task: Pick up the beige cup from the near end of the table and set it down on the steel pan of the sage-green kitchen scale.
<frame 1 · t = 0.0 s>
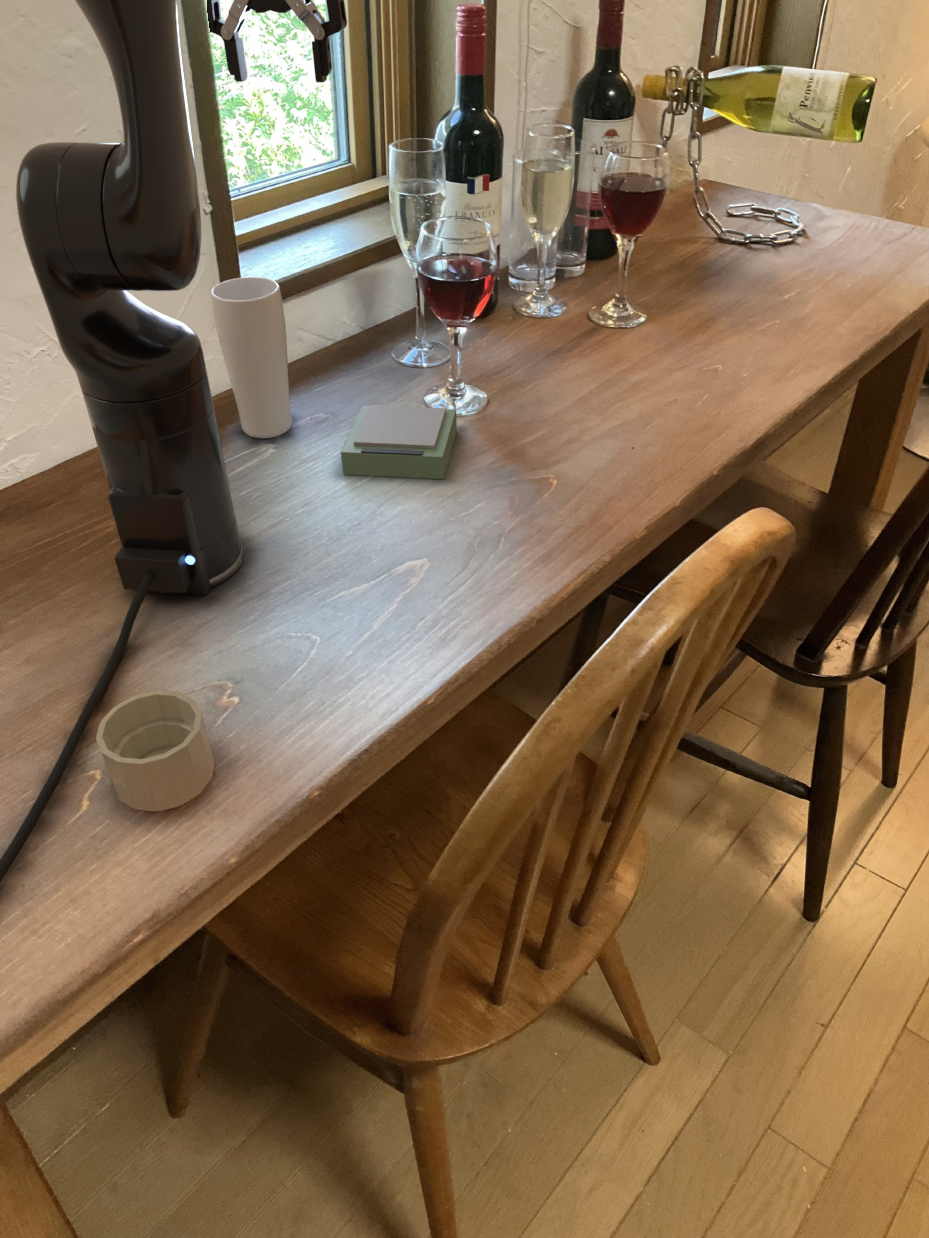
hand: (281, 81, 99), 29 cm above the table, tool pointing down, fingers open, 8 cm apart
drinking glass: (267, 430, 102), on the table
beige cup: (166, 778, 64), on the table
scale: (401, 452, 98), on the table
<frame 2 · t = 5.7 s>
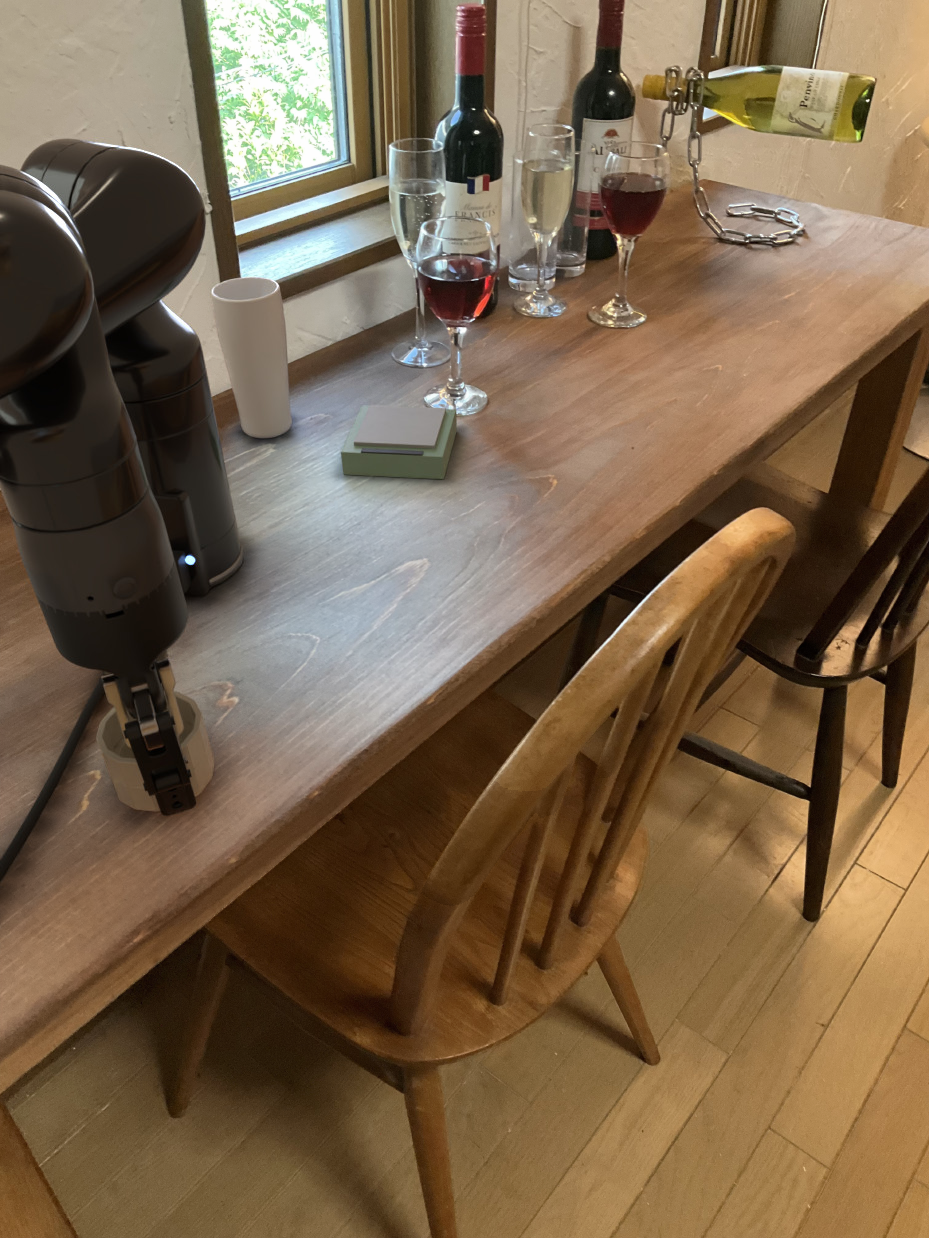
hand: (169, 769, 63), 1 cm above the table, tool pointing down, fingers closed on beige cup, 6 cm apart
beige cup: (166, 778, 64), on the table, touching gripper
everything else where it was.
when the fingers open (4 cm above the table, at t = 14.7 s): beige cup stays where it is, resting on scale.
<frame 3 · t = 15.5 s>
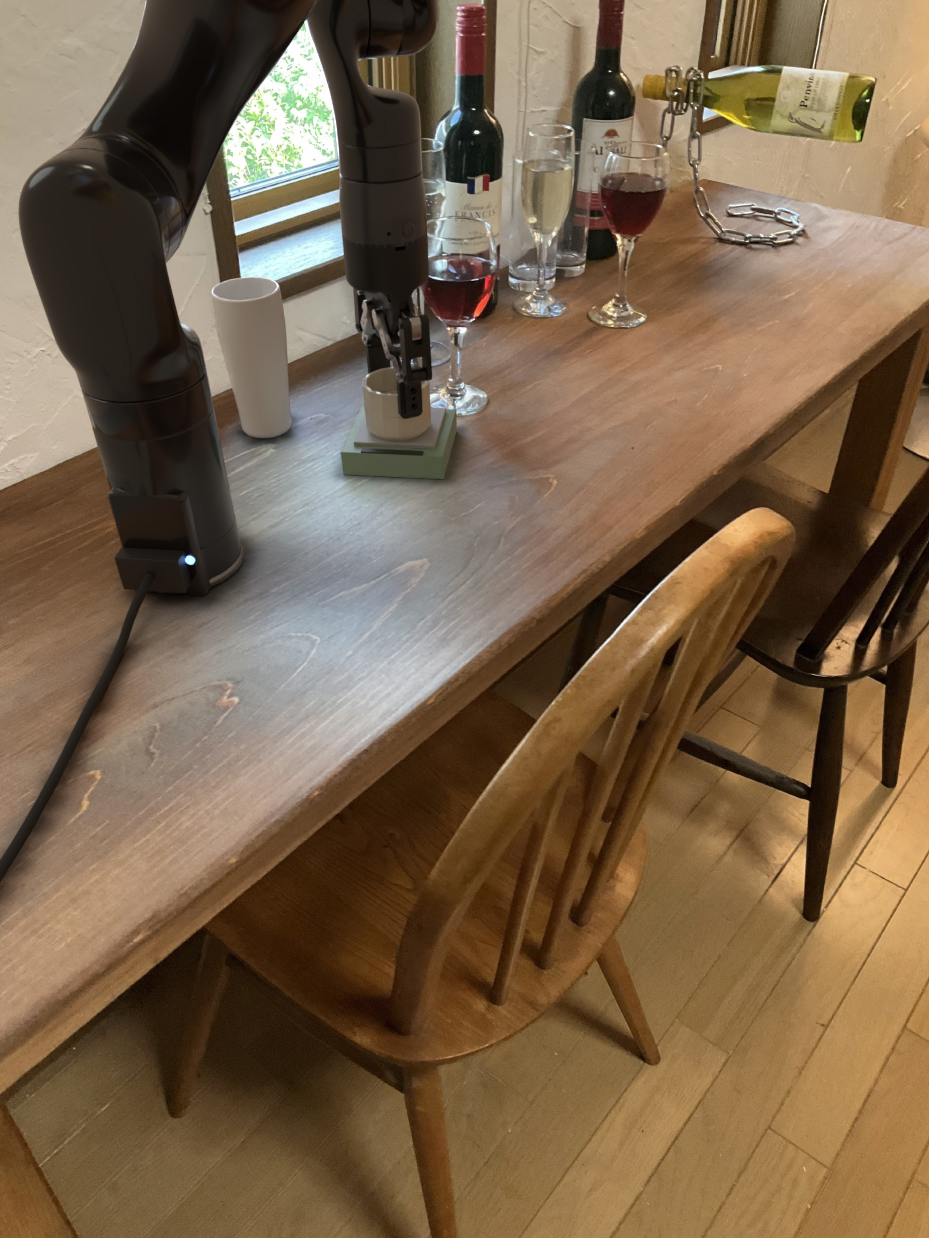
hand: (394, 397, 94), 6 cm above the table, tool pointing down, fingers open, 8 cm apart
beige cup: (398, 427, 96), point 3 cm above the table, touching gripper, scale
everything else where it was.
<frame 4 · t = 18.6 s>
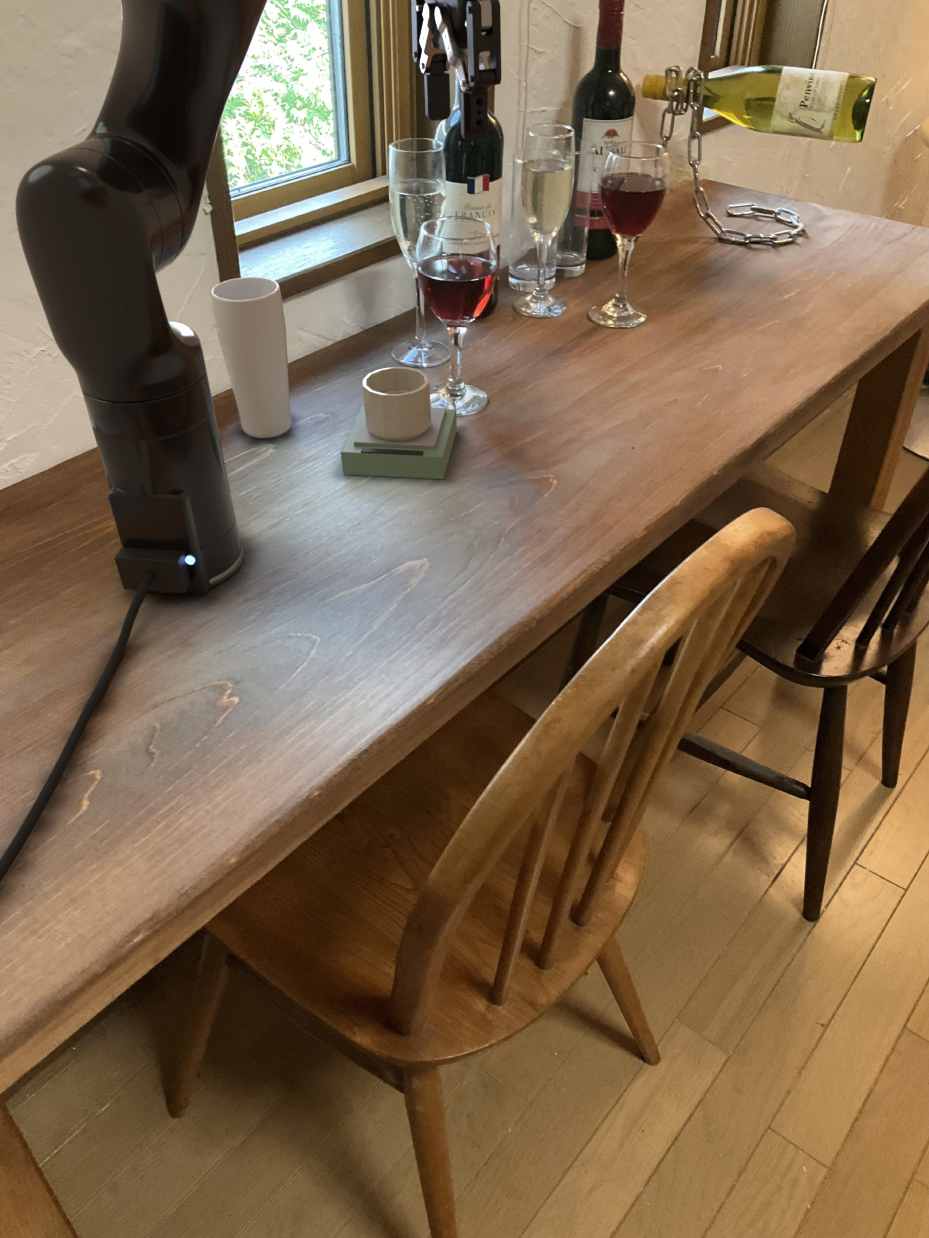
hand: (455, 129, 86), 28 cm above the table, tool pointing down, fingers open, 8 cm apart
beige cup: (398, 427, 96), point 3 cm above the table, touching scale
everything else where it was.
at the end: beige cup inside the target area on the scale (0.6 cm from its centre), point 2.9 cm above the scale's base; beige cup tilted 0°; the gripper is holding nothing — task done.
